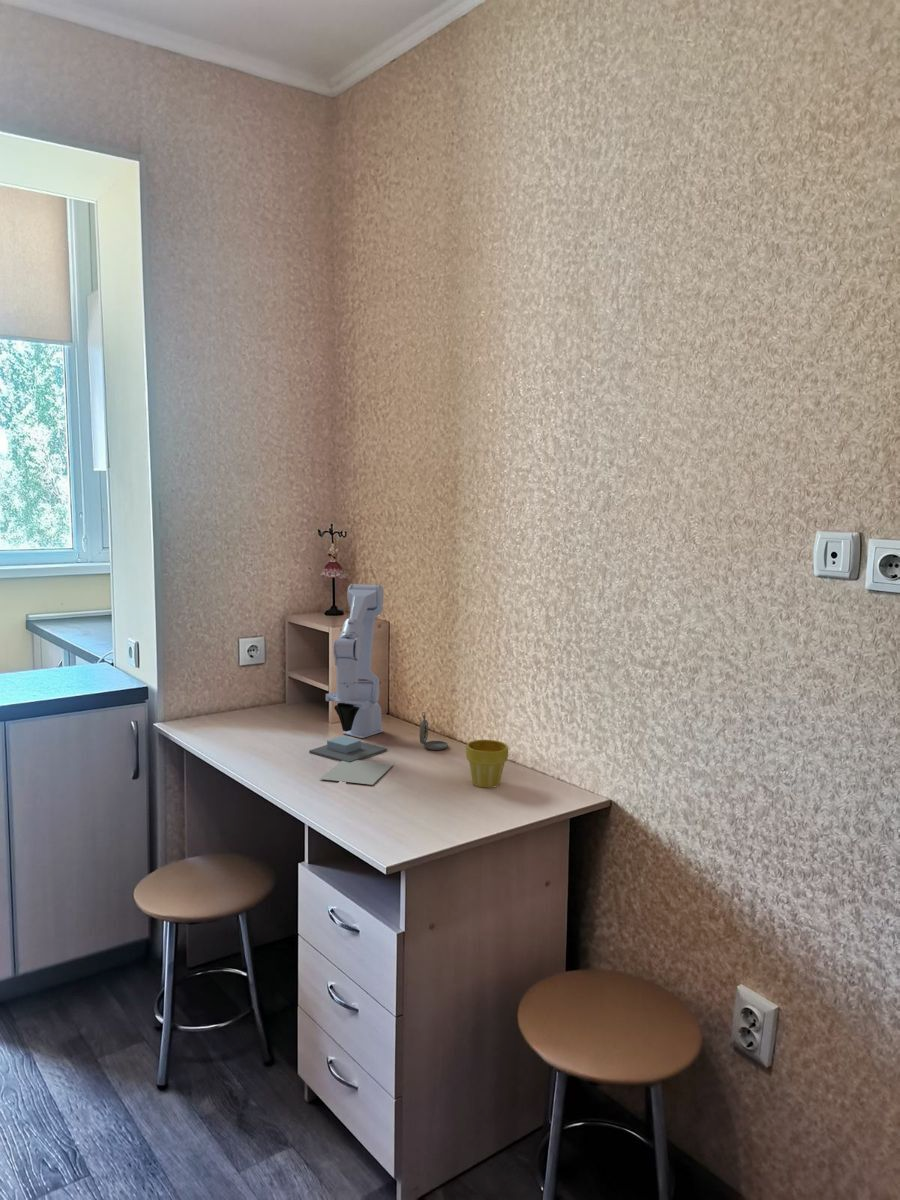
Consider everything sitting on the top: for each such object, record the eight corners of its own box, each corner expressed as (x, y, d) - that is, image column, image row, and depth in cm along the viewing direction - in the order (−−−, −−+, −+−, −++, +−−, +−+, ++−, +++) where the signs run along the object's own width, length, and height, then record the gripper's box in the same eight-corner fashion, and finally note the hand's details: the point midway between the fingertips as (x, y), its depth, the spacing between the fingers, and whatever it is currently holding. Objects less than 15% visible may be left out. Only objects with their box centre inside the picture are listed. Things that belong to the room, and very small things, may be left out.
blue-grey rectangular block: (360, 748, 238) (342, 743, 243) (360, 740, 238) (342, 735, 242) (345, 753, 234) (327, 748, 238) (345, 745, 233) (327, 740, 238)
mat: (347, 740, 248) (347, 738, 248) (387, 750, 239) (387, 748, 239) (309, 752, 236) (309, 750, 236) (349, 763, 227) (349, 761, 227)
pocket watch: (451, 749, 240) (451, 714, 239) (422, 752, 237) (423, 717, 236) (440, 741, 248) (441, 707, 247) (413, 744, 245) (413, 710, 243)
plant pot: (514, 781, 215) (515, 743, 214) (495, 793, 206) (496, 754, 205) (478, 774, 220) (478, 736, 219) (457, 785, 212) (458, 747, 210)
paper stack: (428, 769, 224) (428, 767, 224) (399, 803, 200) (399, 800, 200) (344, 761, 230) (344, 758, 230) (305, 792, 206) (305, 790, 206)
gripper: (317, 680, 236) (317, 728, 238) (356, 688, 227) (356, 738, 229) (335, 676, 242) (335, 723, 244) (374, 683, 233) (374, 732, 235)
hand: (347, 730), depth 237 cm, fingers closed
